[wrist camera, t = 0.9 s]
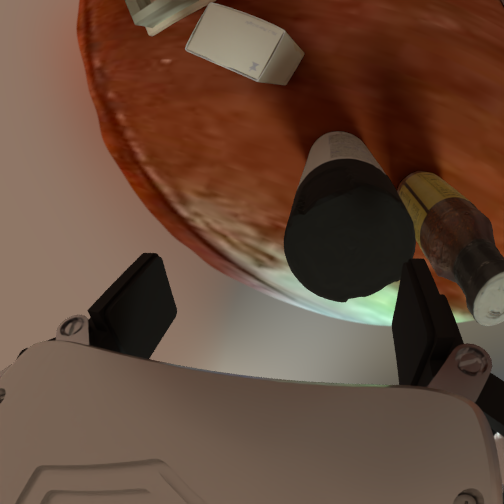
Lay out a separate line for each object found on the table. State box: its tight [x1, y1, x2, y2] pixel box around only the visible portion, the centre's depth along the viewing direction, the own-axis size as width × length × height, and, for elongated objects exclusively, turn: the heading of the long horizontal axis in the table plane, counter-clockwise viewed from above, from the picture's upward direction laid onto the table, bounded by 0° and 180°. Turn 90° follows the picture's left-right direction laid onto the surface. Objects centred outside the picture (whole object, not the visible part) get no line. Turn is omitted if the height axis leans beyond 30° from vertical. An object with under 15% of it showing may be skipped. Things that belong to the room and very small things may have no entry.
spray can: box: [284, 131, 416, 302], centre depth 22 cm, size 7×7×20 cm
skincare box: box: [185, 2, 304, 85], centre depth 22 cm, size 6×4×12 cm
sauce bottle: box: [397, 171, 504, 326], centre depth 21 cm, size 7×6×20 cm
